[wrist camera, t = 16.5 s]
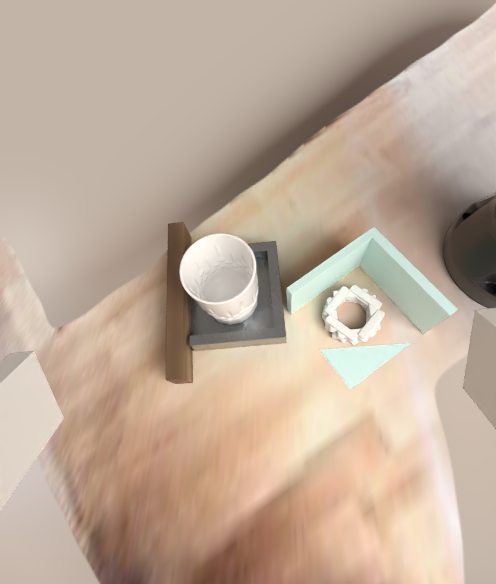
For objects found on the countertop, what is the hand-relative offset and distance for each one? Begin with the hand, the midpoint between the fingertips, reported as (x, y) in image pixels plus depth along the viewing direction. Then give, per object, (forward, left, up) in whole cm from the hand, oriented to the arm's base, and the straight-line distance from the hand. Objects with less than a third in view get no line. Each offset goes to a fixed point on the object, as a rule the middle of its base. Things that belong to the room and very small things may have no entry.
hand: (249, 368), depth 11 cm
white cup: (+5, -14, -31) cm, 34 cm away
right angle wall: (-10, -10, -32) cm, 35 cm away
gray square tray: (+4, -14, -32) cm, 35 cm away
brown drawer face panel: (+11, -14, -32) cm, 36 cm away
